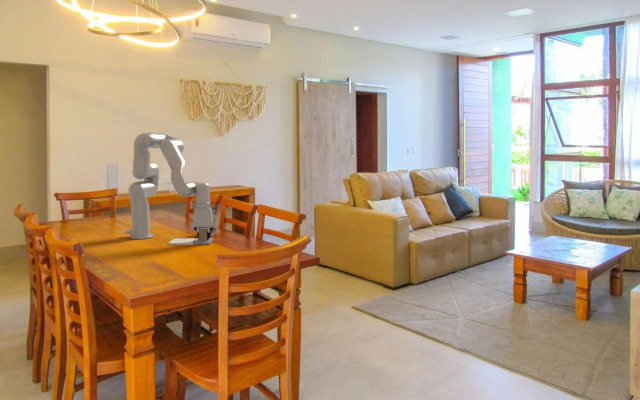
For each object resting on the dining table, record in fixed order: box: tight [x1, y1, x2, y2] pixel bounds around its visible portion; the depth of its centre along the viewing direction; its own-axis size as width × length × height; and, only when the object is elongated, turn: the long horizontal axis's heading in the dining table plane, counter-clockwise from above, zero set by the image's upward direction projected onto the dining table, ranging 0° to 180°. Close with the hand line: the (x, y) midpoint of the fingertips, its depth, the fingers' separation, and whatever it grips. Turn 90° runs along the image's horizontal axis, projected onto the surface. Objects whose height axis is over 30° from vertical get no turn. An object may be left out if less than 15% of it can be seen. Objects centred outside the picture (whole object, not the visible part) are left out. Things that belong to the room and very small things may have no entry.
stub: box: [194, 227, 214, 245], centre depth 266 cm, size 8×12×7 cm, turn 2°
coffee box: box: [200, 206, 218, 237], centre depth 285 cm, size 9×6×16 cm
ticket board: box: [168, 237, 198, 246], centre depth 266 cm, size 13×12×1 cm
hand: (203, 239), depth 266 cm, fingers closed on stub, 4 cm apart
